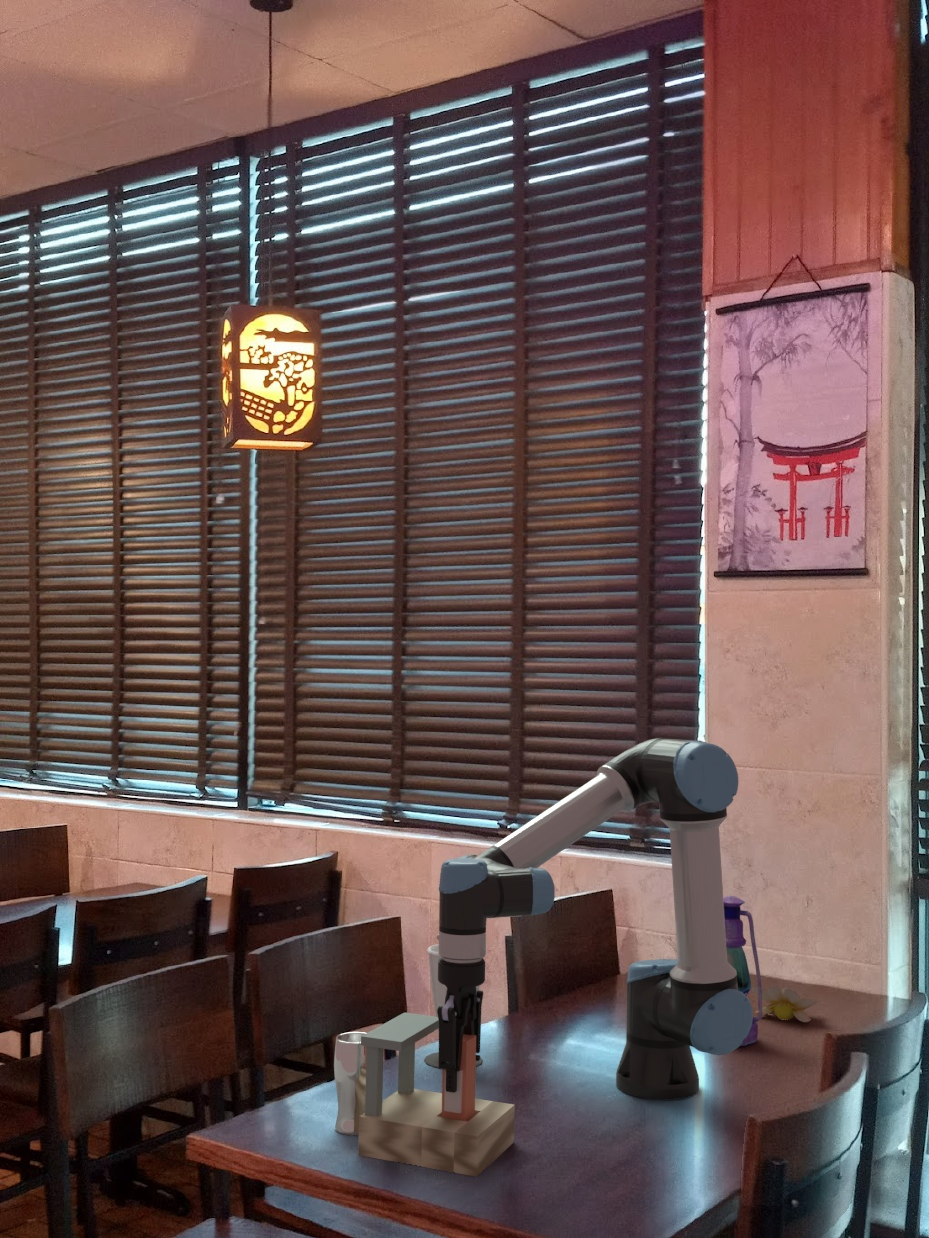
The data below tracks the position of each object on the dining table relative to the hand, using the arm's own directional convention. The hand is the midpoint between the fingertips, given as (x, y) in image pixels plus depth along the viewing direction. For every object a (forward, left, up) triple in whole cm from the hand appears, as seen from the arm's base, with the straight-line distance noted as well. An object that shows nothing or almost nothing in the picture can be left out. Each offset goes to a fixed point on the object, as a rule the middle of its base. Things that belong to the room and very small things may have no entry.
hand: (458, 1106), depth 208 cm
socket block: (+4, 0, -7) cm, 8 cm away
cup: (+20, -44, -7) cm, 49 cm away
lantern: (-26, -83, -7) cm, 87 cm away
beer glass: (+20, -2, -7) cm, 21 cm away
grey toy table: (+10, 0, -1) cm, 10 cm away
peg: (0, 0, -3) cm, 3 cm away
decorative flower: (-35, -106, -7) cm, 112 cm away
